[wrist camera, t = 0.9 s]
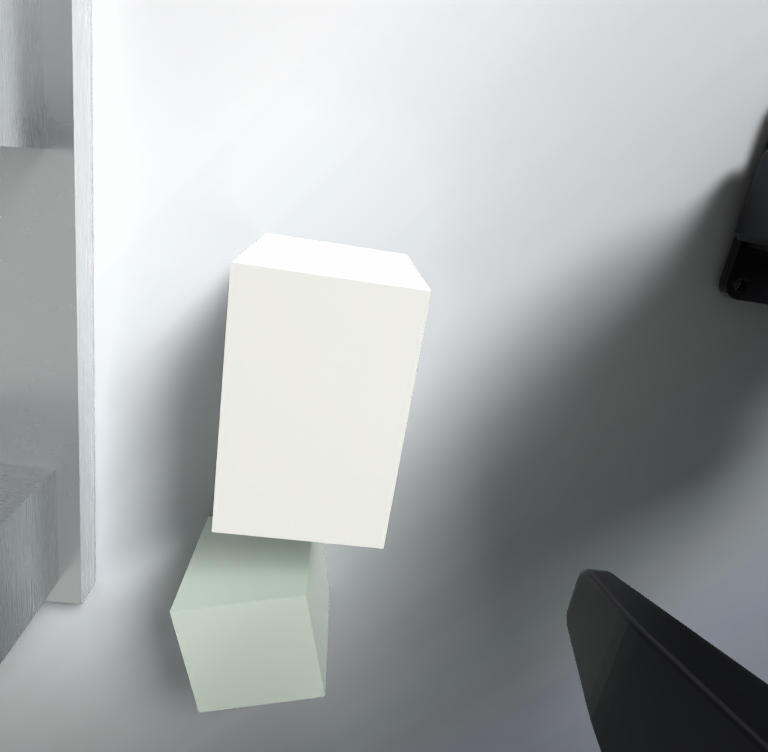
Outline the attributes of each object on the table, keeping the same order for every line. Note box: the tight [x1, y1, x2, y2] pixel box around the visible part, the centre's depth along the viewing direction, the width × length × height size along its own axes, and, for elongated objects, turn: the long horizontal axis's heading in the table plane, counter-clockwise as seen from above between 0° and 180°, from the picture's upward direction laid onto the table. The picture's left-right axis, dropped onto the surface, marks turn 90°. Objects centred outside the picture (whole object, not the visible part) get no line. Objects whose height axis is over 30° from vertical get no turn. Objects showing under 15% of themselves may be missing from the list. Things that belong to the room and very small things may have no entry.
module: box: [212, 233, 431, 549], centre depth 17 cm, size 4×7×6 cm, turn 171°
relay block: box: [170, 516, 330, 713], centre depth 20 cm, size 4×4×5 cm
